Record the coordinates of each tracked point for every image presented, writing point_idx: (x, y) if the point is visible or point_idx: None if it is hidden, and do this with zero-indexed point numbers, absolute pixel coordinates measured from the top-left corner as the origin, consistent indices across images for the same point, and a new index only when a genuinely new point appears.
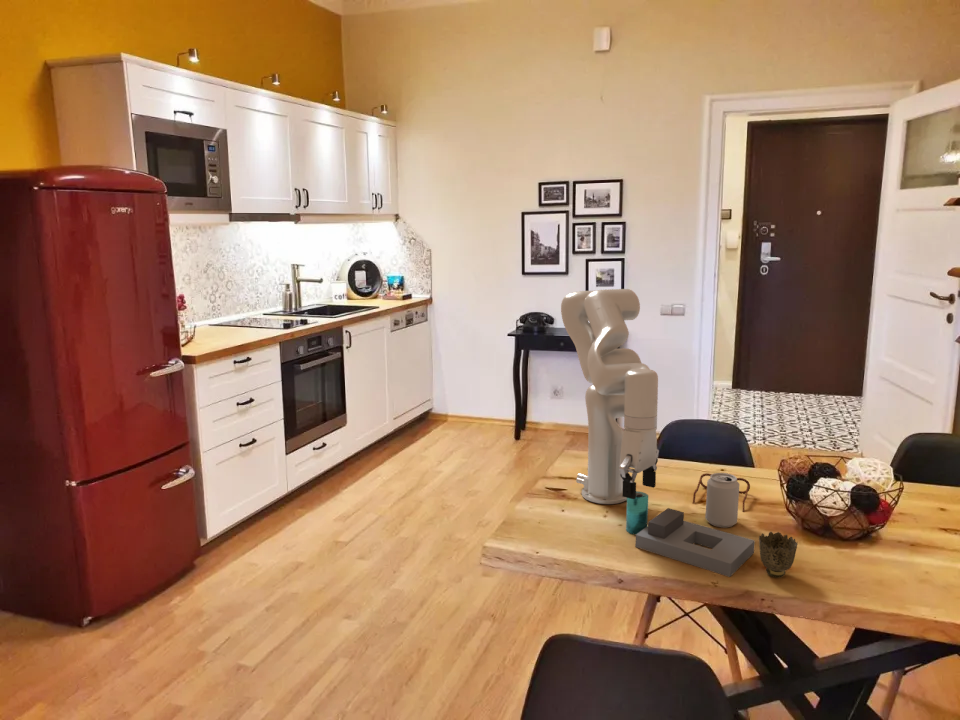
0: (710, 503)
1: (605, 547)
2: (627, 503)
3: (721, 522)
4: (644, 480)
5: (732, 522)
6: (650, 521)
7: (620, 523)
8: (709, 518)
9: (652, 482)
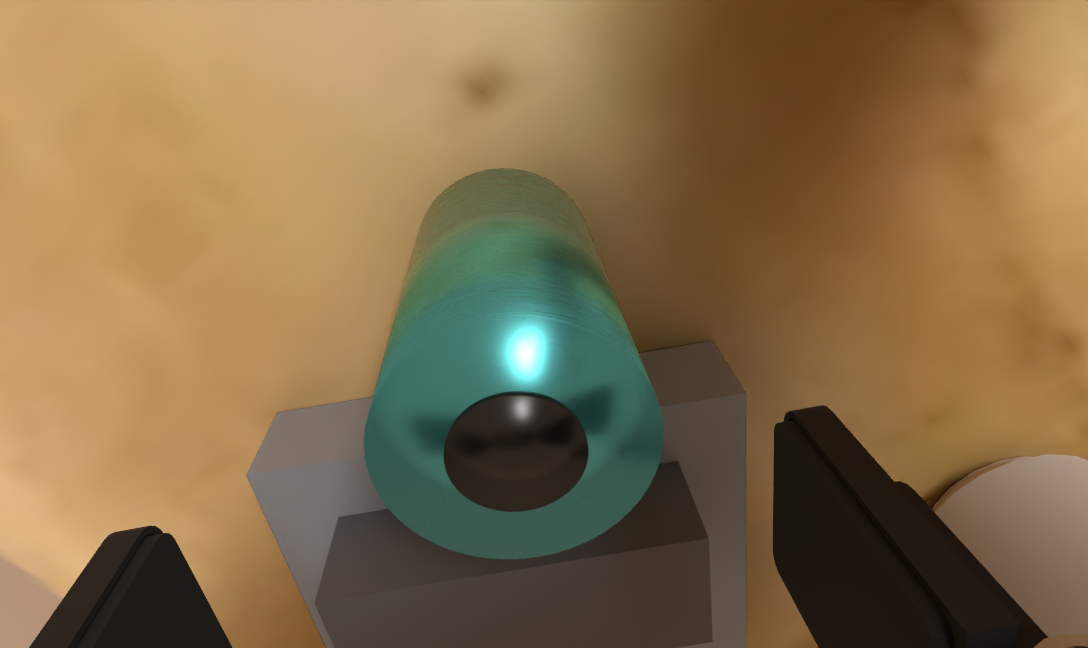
0: None
1: (58, 287)
2: (395, 332)
3: None
4: (811, 502)
5: None
6: (338, 606)
7: (512, 66)
8: None
9: (807, 607)
